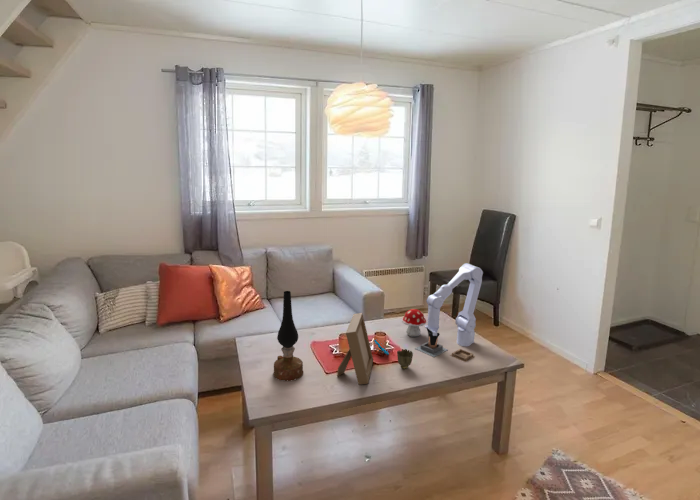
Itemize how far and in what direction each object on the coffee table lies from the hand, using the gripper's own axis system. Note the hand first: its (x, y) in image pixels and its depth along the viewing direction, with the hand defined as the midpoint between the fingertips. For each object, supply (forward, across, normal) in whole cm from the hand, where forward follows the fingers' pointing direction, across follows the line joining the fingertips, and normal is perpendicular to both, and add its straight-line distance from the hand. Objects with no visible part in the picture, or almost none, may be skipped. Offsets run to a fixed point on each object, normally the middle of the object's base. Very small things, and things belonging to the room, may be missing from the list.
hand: (431, 342), depth 216 cm
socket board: (+5, 0, 0) cm, 5 cm away
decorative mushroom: (+5, -20, -7) cm, 22 cm away
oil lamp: (+5, +27, -69) cm, 74 cm away
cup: (+5, +18, -16) cm, 25 cm away
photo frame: (+5, +23, -39) cm, 46 cm away
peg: (+2, 0, 0) cm, 2 cm away
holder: (+5, +6, +14) cm, 16 cm away
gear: (+5, +4, -26) cm, 27 cm away
